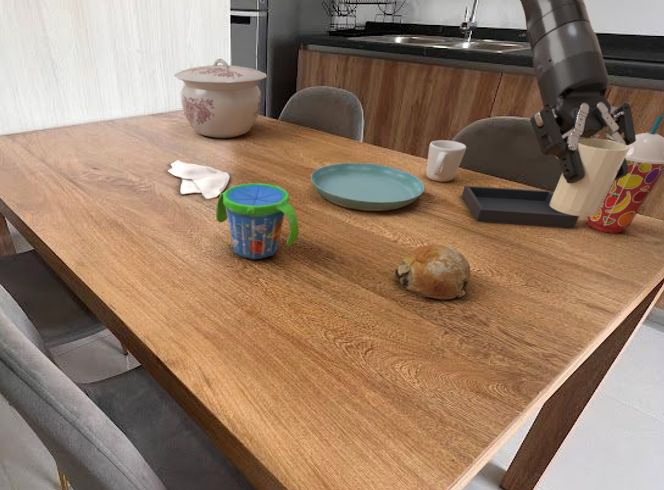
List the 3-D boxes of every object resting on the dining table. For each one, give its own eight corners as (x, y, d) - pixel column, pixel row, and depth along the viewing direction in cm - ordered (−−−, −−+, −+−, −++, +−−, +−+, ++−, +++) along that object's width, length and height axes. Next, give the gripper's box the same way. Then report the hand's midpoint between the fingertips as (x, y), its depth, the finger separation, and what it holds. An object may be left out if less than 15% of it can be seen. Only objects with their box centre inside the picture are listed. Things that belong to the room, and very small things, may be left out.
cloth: (244, 195, 99) (244, 185, 97) (182, 201, 95) (181, 191, 94) (215, 160, 119) (215, 152, 117) (164, 165, 116) (163, 156, 114)
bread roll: (439, 325, 66) (480, 290, 61) (383, 283, 67) (417, 245, 62) (450, 294, 73) (487, 259, 68) (398, 256, 74) (431, 220, 69)
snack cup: (201, 245, 79) (199, 189, 73) (244, 227, 85) (244, 174, 79) (267, 278, 70) (270, 217, 64) (309, 256, 76) (315, 198, 70)
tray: (546, 202, 97) (551, 190, 95) (573, 228, 86) (579, 216, 85) (461, 196, 99) (464, 185, 98) (476, 221, 88) (480, 209, 87)
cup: (450, 190, 102) (460, 154, 98) (415, 183, 106) (423, 148, 101) (459, 177, 110) (469, 143, 105) (426, 171, 113) (434, 138, 109)
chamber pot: (255, 147, 129) (256, 66, 117) (165, 141, 134) (158, 62, 122) (272, 125, 151) (275, 54, 139) (195, 120, 156) (191, 51, 144)
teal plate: (315, 215, 90) (316, 199, 88) (305, 175, 110) (306, 161, 108) (436, 217, 90) (440, 201, 88) (404, 177, 109) (407, 163, 107)
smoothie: (580, 214, 91) (630, 108, 80) (630, 224, 88) (690, 115, 76) (577, 229, 86) (631, 117, 74) (630, 240, 82) (696, 124, 70)
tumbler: (586, 201, 67) (615, 138, 62) (605, 217, 62) (638, 151, 57) (542, 199, 68) (568, 137, 62) (558, 215, 63) (587, 149, 58)
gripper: (544, 49, 59) (575, 169, 56) (637, 47, 61) (671, 162, 58) (504, 87, 66) (530, 194, 63) (588, 84, 68) (617, 188, 66)
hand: (597, 179), depth 61 cm, fingers closed on tumbler, 6 cm apart
